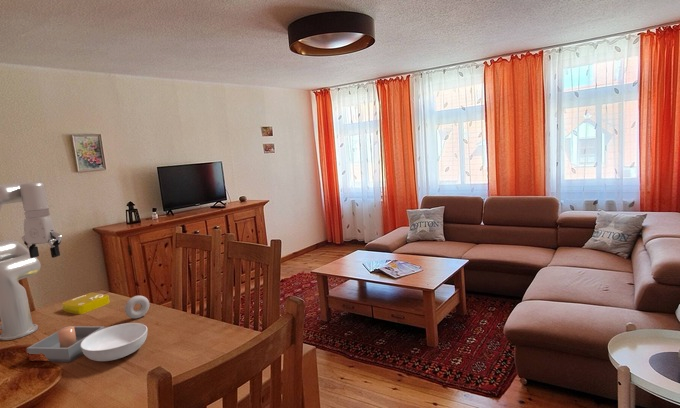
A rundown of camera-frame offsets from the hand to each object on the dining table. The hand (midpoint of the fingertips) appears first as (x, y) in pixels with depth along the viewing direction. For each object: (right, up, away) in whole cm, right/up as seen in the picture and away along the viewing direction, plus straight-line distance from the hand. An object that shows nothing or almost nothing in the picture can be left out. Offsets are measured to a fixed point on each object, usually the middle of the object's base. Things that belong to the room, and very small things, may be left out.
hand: (45, 256), depth 153 cm
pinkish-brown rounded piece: (+14, -33, -7) cm, 36 cm away
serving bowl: (+36, -33, -13) cm, 51 cm away
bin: (+15, -34, -7) cm, 37 cm away
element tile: (-7, -30, +36) cm, 47 cm away
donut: (+28, -29, +18) cm, 44 cm away
